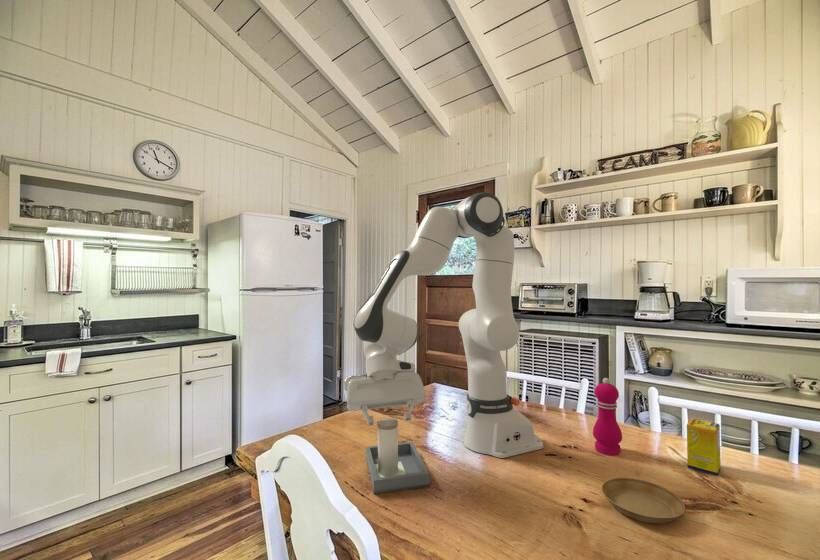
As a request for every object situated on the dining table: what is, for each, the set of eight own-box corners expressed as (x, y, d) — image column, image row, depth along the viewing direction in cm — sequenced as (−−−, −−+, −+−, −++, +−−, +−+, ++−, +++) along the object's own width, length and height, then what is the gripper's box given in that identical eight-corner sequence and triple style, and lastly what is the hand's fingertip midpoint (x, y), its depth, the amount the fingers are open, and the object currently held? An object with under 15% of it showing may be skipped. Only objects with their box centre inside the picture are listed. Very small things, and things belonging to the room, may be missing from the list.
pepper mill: (626, 457, 100) (625, 381, 100) (597, 455, 101) (595, 380, 102) (617, 445, 107) (616, 375, 107) (590, 444, 108) (588, 374, 109)
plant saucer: (585, 498, 82) (585, 486, 82) (631, 482, 88) (631, 471, 88) (653, 540, 68) (653, 526, 68) (701, 518, 75) (701, 505, 75)
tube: (396, 464, 96) (396, 417, 96) (400, 474, 91) (399, 425, 91) (376, 467, 95) (375, 419, 95) (379, 477, 90) (378, 427, 90)
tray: (412, 452, 105) (412, 441, 105) (429, 486, 87) (429, 473, 87) (365, 457, 102) (365, 446, 102) (373, 494, 85) (373, 480, 85)
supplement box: (691, 459, 98) (690, 417, 98) (721, 467, 94) (720, 423, 94) (686, 468, 94) (685, 424, 94) (717, 476, 90) (716, 430, 90)
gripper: (343, 370, 98) (347, 421, 88) (420, 363, 102) (431, 411, 93) (343, 383, 102) (347, 433, 93) (417, 375, 107) (427, 422, 97)
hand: (389, 422), depth 93 cm, fingers open, 8 cm apart
